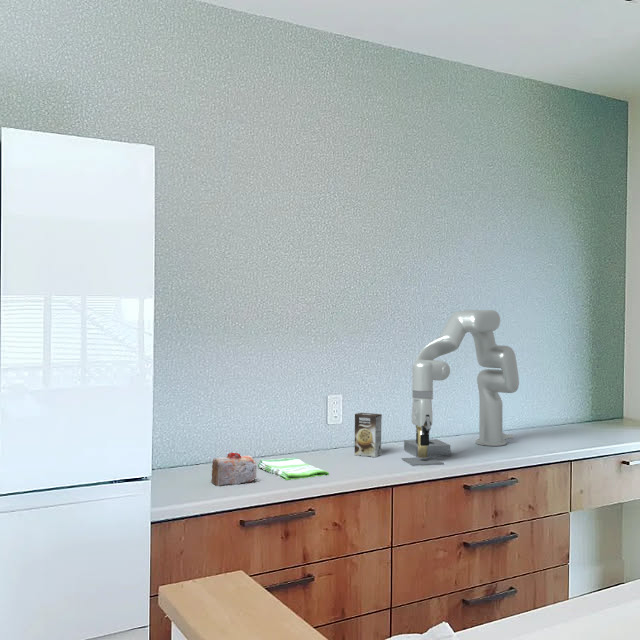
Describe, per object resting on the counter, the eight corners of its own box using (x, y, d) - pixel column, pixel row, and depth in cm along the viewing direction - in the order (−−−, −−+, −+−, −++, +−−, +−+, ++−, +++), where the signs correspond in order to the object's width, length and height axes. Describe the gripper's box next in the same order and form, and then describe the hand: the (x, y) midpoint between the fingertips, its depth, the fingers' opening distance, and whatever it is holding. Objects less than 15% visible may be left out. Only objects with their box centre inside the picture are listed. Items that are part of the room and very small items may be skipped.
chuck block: (436, 448, 290) (436, 439, 290) (450, 455, 276) (450, 445, 276) (404, 450, 287) (404, 440, 287) (416, 457, 273) (416, 446, 273)
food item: (248, 478, 238) (248, 448, 238) (258, 483, 231) (258, 452, 231) (209, 482, 231) (209, 452, 231) (218, 487, 224) (218, 456, 224)
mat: (431, 458, 271) (431, 456, 271) (443, 464, 260) (443, 462, 260) (401, 459, 269) (401, 458, 269) (412, 465, 257) (412, 464, 257)
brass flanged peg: (413, 455, 266) (413, 422, 266) (426, 455, 267) (426, 421, 267) (418, 458, 261) (418, 424, 261) (431, 457, 262) (431, 423, 262)
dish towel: (298, 464, 262) (298, 454, 262) (330, 476, 242) (330, 466, 242) (256, 469, 254) (256, 459, 254) (285, 482, 234) (285, 471, 234)
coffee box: (353, 455, 276) (353, 414, 276) (360, 452, 282) (360, 412, 282) (375, 457, 272) (375, 415, 272) (382, 454, 278) (382, 413, 278)
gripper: (405, 393, 271) (405, 441, 271) (421, 397, 255) (421, 448, 255) (423, 392, 273) (423, 440, 273) (440, 397, 257) (440, 448, 257)
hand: (422, 443), depth 264 cm, fingers closed on brass flanged peg, 3 cm apart
